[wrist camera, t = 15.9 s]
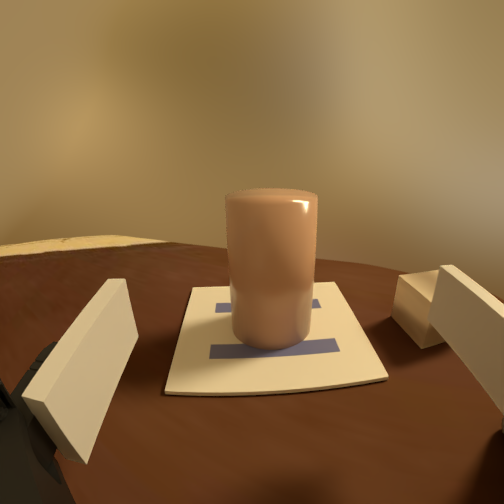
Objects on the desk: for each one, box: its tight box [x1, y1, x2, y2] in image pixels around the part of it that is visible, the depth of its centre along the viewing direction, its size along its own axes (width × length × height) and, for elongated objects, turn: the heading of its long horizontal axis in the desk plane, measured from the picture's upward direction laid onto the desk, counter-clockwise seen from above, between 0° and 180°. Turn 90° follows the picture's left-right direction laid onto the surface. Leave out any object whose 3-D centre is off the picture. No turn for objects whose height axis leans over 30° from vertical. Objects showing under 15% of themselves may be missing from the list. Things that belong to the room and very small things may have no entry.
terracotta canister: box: [225, 188, 318, 350], centre depth 22 cm, size 6×6×10 cm
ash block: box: [391, 270, 446, 349], centre depth 22 cm, size 5×5×4 cm
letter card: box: [165, 282, 389, 396], centre depth 23 cm, size 14×14×1 cm
